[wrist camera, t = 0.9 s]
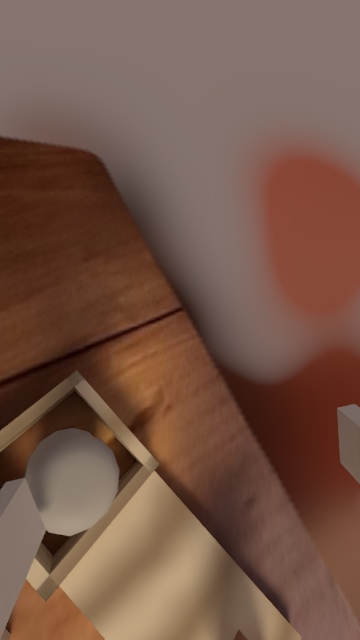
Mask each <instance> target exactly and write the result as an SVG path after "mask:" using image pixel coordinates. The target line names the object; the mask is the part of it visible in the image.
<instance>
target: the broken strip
mask: <svg viewBox="0 0 360 640" xmlns="http://www.w3.org/2000/svg"><path fill="white" fill-rule="evenodd" d="M10 635H11V634H10V633H9V632H8V631H7V629H6V628H5V630H4V632H3V634H2V637H1V639H0V640H9V638H10Z"/></svg>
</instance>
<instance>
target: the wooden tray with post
mask: <svg viewBox="0 0 360 640" xmlns="http://www.w3.org/2000/svg"><path fill="white" fill-rule="evenodd" d="M74 391H76V392H77V393H78V395H79V396H80V397H81V398H82V399H83V400H84V401H85V403H86V404H87V405H88V406H89V407H90V408H91V409H92V410H93V412H94V413H95V414H96V415H97V416H98V417H99V418H100V420H101V421H102V422H103V423H104V424H105V425H106V426H107V428H108V429H109V430H110V431H111V432H112V433H113V434H114V435H115V437H116V438H117V439H118V440H119V441H120V442H121V443H122V445H123V446H124V447H125V448H126V449H127V450H128V451H129V453H130V454H131V455H132V456H133V457H134V458H135V459H136V460H137V461H136V462H135V463H134V464H133V465H132V467H131V468H130V469H129V470H128V471H127V472H126V473H125V475H124V476H123V477H122V478H121V479H120V480H119V482H118V492H117V494H116V496H115V498H114V500H113V502H112V504H111V506H110V509H109V511H108V512H107V513H106V514H105V515H104V516H103V517H102V518H101V519H100V520H99V521H98V522H97V523H96V524H95V525H94V526H92V527H91V528H90V529H87V530H84V531H82V532H79V533H77V534H74V535H72V536H70V537H69V538H68V539H67V540H66V541H65V543H64V544H63V545H62V546H61V547H60V548H59V549H58V551H57V552H56V553H55V554H54V555H52V554H51V553H50V552H49V551H48V549H47V548H46V547H45V546H44V545H43V544H42V542H41V544H40V546H39V548H38V551H37V553H36V555H35V558H34V560H33V563H32V565H31V567H30V570H29V572H28V575H27V577H26V579H27V580H28V582H29V583H30V584H31V585H32V586H33V588H34V589H35V590H36V591H37V592H38V593H39V595H40V596H41V597H42V598H43V599H44V600H45V602H46V601H47V600H48V599H49V598H50V596H51V595H52V594H53V593H54V591H55V590H56V589H57V588H58V587H59V586H60V587H61V588H62V589H63V591H64V592H65V593H66V594H67V595H68V597H69V598H70V599H71V600H72V601H73V602H74V604H75V605H76V606H77V607H78V608H79V609H80V611H81V612H82V613H83V614H84V615H85V616H86V618H87V619H88V620H89V621H90V622H91V623H92V625H93V626H94V627H95V628H96V629H97V630H98V632H99V633H100V634H101V635H102V636H103V637H104V639H105V640H301V636H300V635H299V634H298V633H297V632H296V631H295V629H294V628H293V627H292V626H291V625H290V624H289V623H288V622H287V620H286V619H285V618H284V617H283V616H282V615H281V614H280V612H279V611H278V610H277V609H276V608H275V607H274V606H273V604H272V603H271V602H270V601H269V600H268V599H267V598H266V597H265V595H264V594H263V593H262V592H261V591H260V590H259V589H258V587H257V586H256V585H255V584H254V583H253V582H252V581H251V580H250V578H249V577H248V576H247V575H246V574H245V573H244V572H243V570H242V569H241V568H240V567H239V566H238V565H237V564H236V562H235V561H234V560H233V559H232V558H231V557H230V556H229V555H228V553H227V552H226V551H225V550H224V549H223V548H222V547H221V545H220V544H219V543H218V542H217V541H216V540H215V539H214V538H213V536H212V535H211V534H210V533H209V532H208V531H207V530H206V528H205V527H204V526H203V525H202V524H201V523H200V522H199V521H198V519H197V518H196V517H195V516H194V515H193V514H192V513H191V511H190V510H189V509H188V508H187V507H186V506H185V505H184V503H183V502H182V501H181V500H180V499H179V498H178V497H177V496H176V494H175V493H174V492H173V491H172V490H171V489H170V488H169V486H168V485H167V484H166V483H165V482H164V481H163V480H162V479H161V477H160V476H159V475H158V474H157V473H156V472H155V471H154V470H155V469H156V468H157V467H158V465H159V463H158V462H157V461H156V460H155V458H154V457H153V456H152V455H151V454H150V453H149V452H148V450H147V449H146V448H145V447H144V446H143V445H142V444H141V443H140V441H139V440H138V439H137V438H136V437H135V436H134V435H133V433H132V432H131V431H130V430H129V429H128V428H127V427H126V426H125V424H124V423H123V422H122V421H121V420H120V419H119V418H118V416H117V415H116V414H115V413H114V412H113V411H112V410H111V409H110V407H109V406H108V405H107V404H106V403H105V402H104V401H103V400H102V398H101V397H100V396H99V395H98V394H97V393H96V392H95V390H94V389H93V388H92V387H91V386H90V385H89V384H88V383H87V381H86V380H85V379H84V378H83V377H82V376H81V375H80V373H79V372H78V371H75V372H74V373H73V374H72V375H70V376H69V377H68V378H66V379H65V380H64V381H63V382H61V383H60V384H59V385H58V386H56V387H55V388H54V389H53V390H51V391H50V392H49V393H47V394H46V395H45V396H44V397H42V398H41V399H40V400H39V401H37V402H36V403H35V404H34V405H32V406H31V407H30V408H28V409H27V410H26V411H25V412H23V413H22V414H21V415H20V416H18V417H17V418H16V419H15V420H13V421H12V422H11V423H9V424H8V425H7V426H6V427H4V428H3V429H2V430H1V431H0V452H1V451H2V450H4V449H5V448H6V447H7V446H8V445H10V444H11V443H12V442H13V441H14V440H16V439H17V438H18V437H19V436H20V435H22V434H23V433H24V432H25V431H26V430H28V429H29V428H30V427H31V426H33V425H34V424H35V423H36V422H37V421H39V420H40V419H41V418H42V417H43V416H45V415H46V414H47V413H48V412H49V411H51V410H52V409H53V408H54V407H55V406H57V405H58V404H59V403H60V402H61V401H63V400H64V399H65V398H66V397H67V396H69V395H70V394H71V393H72V392H74Z"/></svg>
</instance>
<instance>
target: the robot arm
mask: <svg viewBox="0 0 360 640" xmlns="http://www.w3.org/2000/svg"><path fill="white" fill-rule="evenodd" d="M337 413H338V430H339V447H340V462H341V464H342V465H343V466H344V467H345V468H346V469H347V470H348V471H349V473H350V474H351V475H352V476H353V477H354V478H355V479H356V480H357V481H358V482H359V484H360V408H359V407H358V406H357V405H355V404H353V405H348V406H344V407H339V408H337ZM45 532H46V529H45V527H44V524H43V522H42V519H41V517H40V514H39V512H38V509H37V507H36V504H35V502H34V499H33V497H32V494H31V492H30V489H29V487H28V484H27V482H26V479H25V478H22V479H17V480H13V481H8V482H6V483H5V484H4V485H3V487H2V488H1V490H0V639H1V637H2V634H3V632H4V630H5V627H6V625H7V622H8V620H9V618H10V615H11V613H12V610H13V608H14V606H15V603H16V601H17V598H18V596H19V594H20V591H21V589H22V587H23V584H24V582H25V579H26V577H27V575H28V572H29V570H30V567H31V565H32V563H33V560H34V558H35V555H36V553H37V551H38V548H39V546H40V544H41V541H42V539H43V536H44V534H45Z"/></svg>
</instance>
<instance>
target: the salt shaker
mask: <svg viewBox="0 0 360 640" xmlns="http://www.w3.org/2000/svg"><path fill="white" fill-rule="evenodd" d="M119 472H120V471H119V468H118V465H117V462H116V459H115V456H114V453H113V451H112V450H111V449H110V448H109V447H108V446H107V445H106V444H105V443H104V442H103V441H102V440H101V439H98V438H94V437H93V436H92V435H91V434H90V433H89V432H88V431H84V430H80V429H76V428H69V429H64V430H58V431H55V432H54V433H53V434H51V435H50V436H48V437H47V438H45V439H44V440H42V441H41V442H40V443H39V444H38V446H37V447H36V449H35V450H34V452H33V453H32V455H31V456H30V457H29V460H28V464H27V469H26V473H25V479H26V482H27V484H28V487H29V489H30V492H31V494H32V497H33V499H34V502H35V504H36V507H37V509H38V512H39V514H40V517H41V519H42V522H43V524H44V527H45V529H46V530H47V531H48V532H49V533H54V534H60V535H66V536H72V535H74V534H77V533H79V532H82V531H84V530H87V529H90V528H91V527H92V526H94V525H95V524H96V523H97V522H98V521H99V520H100V519H101V518H102V517H103V516H104V515H105V514H106V513H107V512H108V511H109V509H110V506H111V504H112V502H113V500H114V498H115V496H116V494H117V492H118V482H119Z"/></svg>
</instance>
